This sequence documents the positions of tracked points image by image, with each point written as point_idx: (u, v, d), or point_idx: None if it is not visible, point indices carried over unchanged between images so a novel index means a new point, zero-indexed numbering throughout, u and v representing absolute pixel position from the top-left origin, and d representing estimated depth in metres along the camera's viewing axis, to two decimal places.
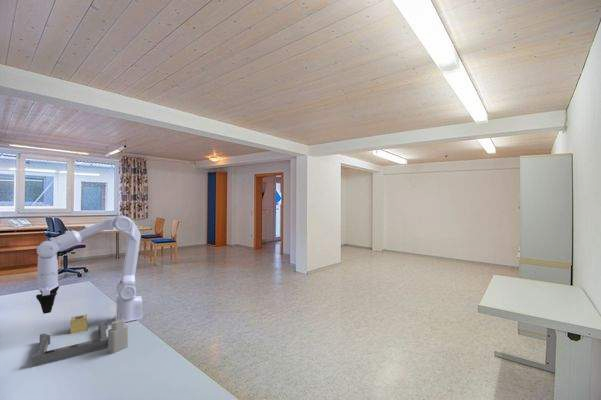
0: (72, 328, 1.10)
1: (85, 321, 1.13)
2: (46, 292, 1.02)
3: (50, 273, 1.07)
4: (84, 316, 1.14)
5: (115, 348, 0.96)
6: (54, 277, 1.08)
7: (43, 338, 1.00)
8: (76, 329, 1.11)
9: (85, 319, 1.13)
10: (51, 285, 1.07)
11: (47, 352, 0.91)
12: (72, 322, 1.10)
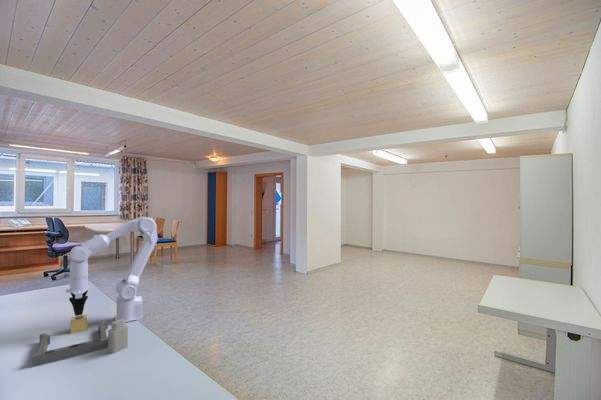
0: (72, 328, 1.10)
1: (85, 321, 1.13)
2: (79, 295, 1.07)
3: (82, 277, 1.12)
4: (84, 316, 1.14)
5: (115, 348, 0.96)
6: (85, 281, 1.12)
7: (43, 338, 1.00)
8: (76, 329, 1.11)
9: (85, 319, 1.13)
10: (82, 288, 1.12)
11: (47, 352, 0.91)
12: (72, 322, 1.10)
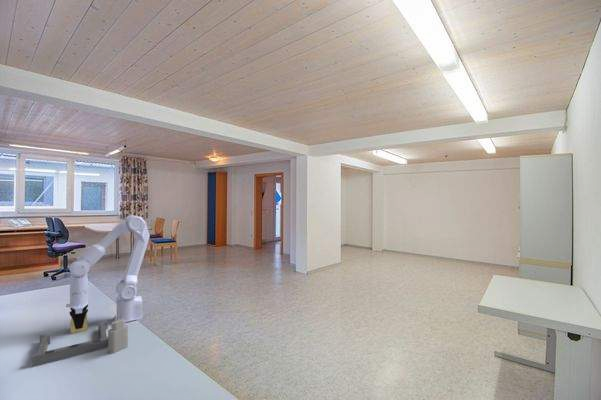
0: (72, 328, 1.10)
1: (85, 321, 1.13)
2: (79, 310, 1.07)
3: (82, 291, 1.12)
4: None
5: (115, 348, 0.96)
6: (85, 295, 1.13)
7: (43, 338, 1.00)
8: None
9: (85, 319, 1.13)
10: (82, 303, 1.12)
11: (47, 352, 0.91)
12: (72, 322, 1.10)
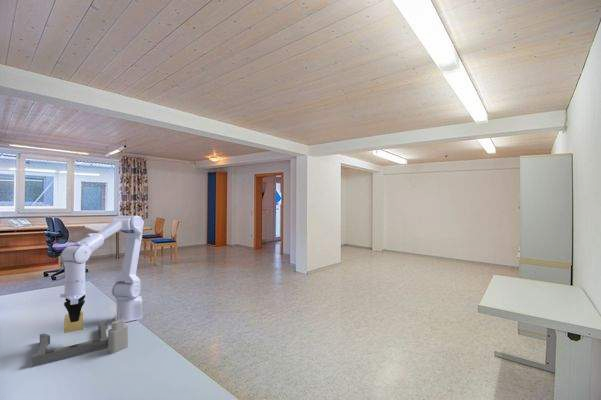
0: (66, 327, 0.98)
1: (80, 319, 1.01)
2: (74, 301, 0.96)
3: (83, 279, 1.02)
4: (80, 313, 1.02)
5: (115, 348, 0.96)
6: (82, 284, 1.01)
7: (43, 338, 1.00)
8: (71, 327, 0.99)
9: (81, 317, 1.01)
10: (79, 293, 1.00)
11: (47, 352, 0.91)
12: (66, 320, 0.98)
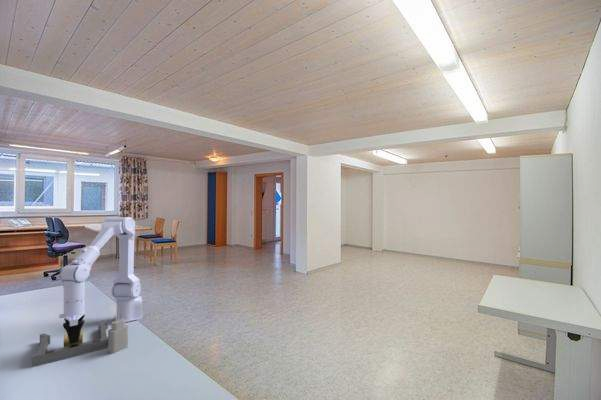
0: None
1: (80, 339, 0.98)
2: (74, 322, 0.93)
3: (83, 298, 0.99)
4: None
5: (115, 348, 0.96)
6: (81, 304, 0.98)
7: (43, 338, 1.00)
8: None
9: (80, 337, 0.98)
10: (78, 313, 0.97)
11: (47, 352, 0.91)
12: (65, 341, 0.96)
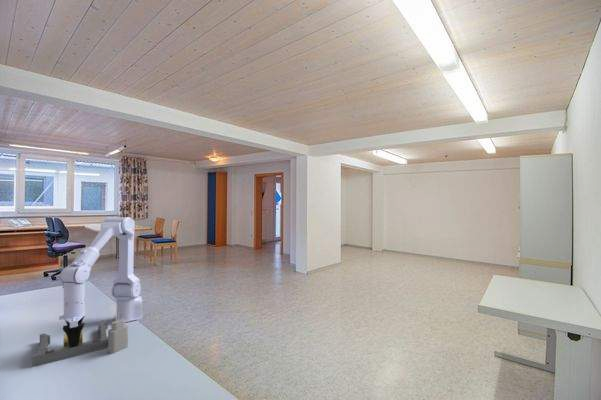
0: None
1: (80, 339, 0.98)
2: (74, 324, 0.93)
3: (83, 299, 0.99)
4: None
5: (115, 348, 0.96)
6: (81, 306, 0.98)
7: (43, 338, 1.00)
8: None
9: (80, 337, 0.98)
10: (78, 315, 0.97)
11: (47, 352, 0.91)
12: (65, 341, 0.96)
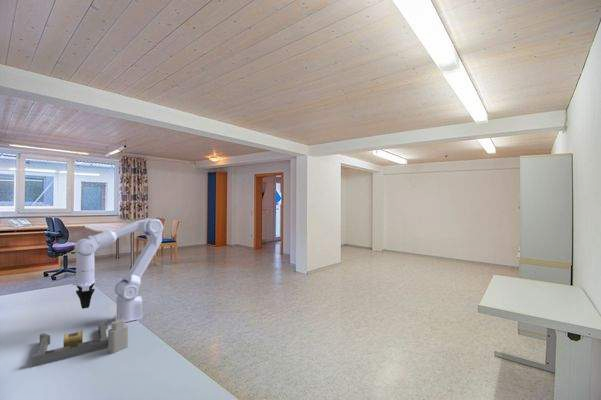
0: None
1: (80, 339, 0.98)
2: (86, 288, 1.07)
3: (90, 269, 1.11)
4: (79, 333, 1.00)
5: (115, 348, 0.96)
6: (91, 274, 1.12)
7: (43, 338, 1.00)
8: None
9: (80, 337, 0.98)
10: (89, 281, 1.11)
11: (47, 352, 0.91)
12: (65, 341, 0.96)
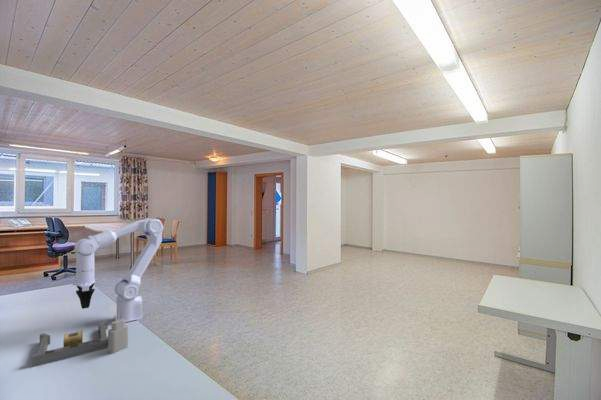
0: None
1: (80, 339, 0.98)
2: (86, 288, 1.07)
3: (90, 269, 1.11)
4: (79, 333, 1.00)
5: (115, 348, 0.96)
6: (91, 274, 1.12)
7: (43, 338, 1.00)
8: None
9: (80, 337, 0.98)
10: (89, 281, 1.11)
11: (47, 352, 0.91)
12: (65, 341, 0.96)
